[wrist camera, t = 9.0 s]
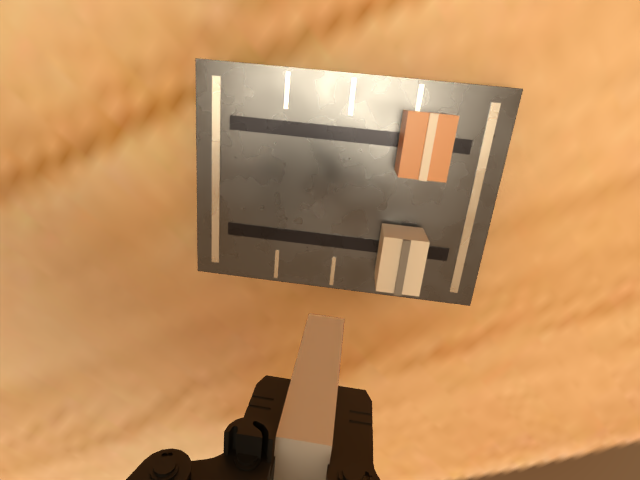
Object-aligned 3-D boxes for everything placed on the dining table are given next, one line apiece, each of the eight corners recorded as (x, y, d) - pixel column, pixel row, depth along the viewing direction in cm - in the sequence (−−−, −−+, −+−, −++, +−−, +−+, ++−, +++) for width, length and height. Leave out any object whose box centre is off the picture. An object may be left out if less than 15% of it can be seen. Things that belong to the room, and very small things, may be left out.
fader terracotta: (394, 169, 28) (398, 178, 25) (403, 109, 27) (408, 111, 24) (437, 173, 28) (447, 183, 25) (448, 114, 27) (460, 116, 23)
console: (206, 261, 35) (197, 271, 33) (206, 61, 30) (194, 58, 28) (463, 294, 33) (470, 306, 32) (512, 89, 28) (523, 88, 26)
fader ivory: (374, 272, 31) (375, 292, 28) (381, 223, 30) (384, 238, 26) (413, 277, 31) (419, 298, 27) (422, 227, 29) (430, 243, 26)
